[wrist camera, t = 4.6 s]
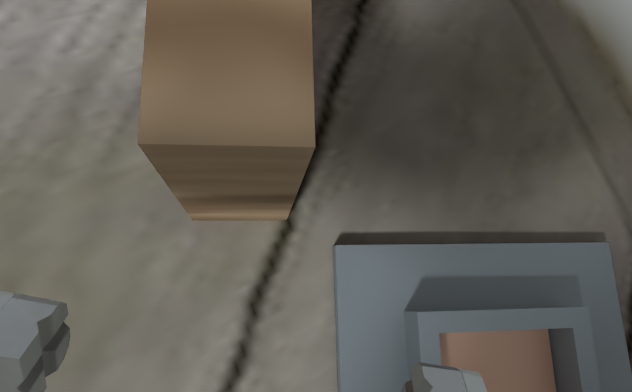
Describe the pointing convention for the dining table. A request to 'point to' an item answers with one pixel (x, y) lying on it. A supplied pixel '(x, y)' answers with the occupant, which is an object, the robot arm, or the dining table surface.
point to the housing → (480, 315)
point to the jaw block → (229, 104)
